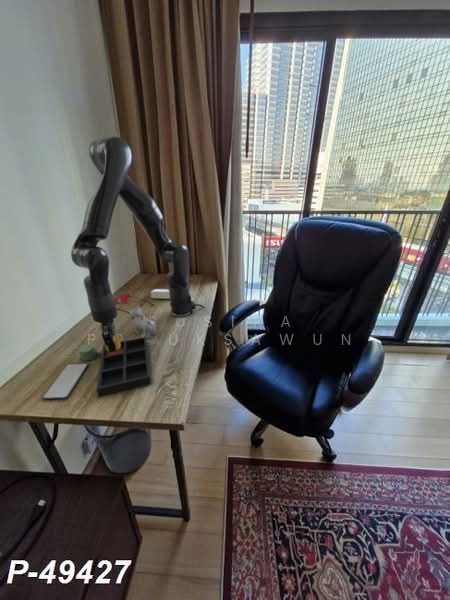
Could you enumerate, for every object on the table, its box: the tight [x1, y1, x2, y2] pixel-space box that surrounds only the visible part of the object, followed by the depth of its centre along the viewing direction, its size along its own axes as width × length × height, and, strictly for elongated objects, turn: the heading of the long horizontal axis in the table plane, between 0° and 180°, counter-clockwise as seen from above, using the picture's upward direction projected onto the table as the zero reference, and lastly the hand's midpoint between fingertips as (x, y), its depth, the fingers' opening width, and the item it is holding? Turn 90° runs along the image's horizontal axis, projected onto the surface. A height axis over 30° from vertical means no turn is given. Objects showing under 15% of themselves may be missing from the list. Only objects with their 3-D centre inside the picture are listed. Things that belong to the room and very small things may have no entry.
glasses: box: [114, 292, 154, 319], centre depth 123 cm, size 14×16×5 cm
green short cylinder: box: [78, 343, 97, 362], centre depth 91 cm, size 5×5×4 cm
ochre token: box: [103, 333, 121, 351], centre depth 90 cm, size 5×5×4 cm
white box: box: [150, 288, 170, 300], centre depth 134 cm, size 13×7×8 cm, turn 85°
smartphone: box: [42, 362, 89, 400], centre depth 81 cm, size 7×1×15 cm
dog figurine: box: [129, 306, 157, 340], centre depth 103 cm, size 5×13×11 cm, turn 52°
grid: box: [96, 336, 152, 397], centre depth 87 cm, size 15×23×3 cm
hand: (113, 346), depth 91 cm, fingers closed on ochre token, 5 cm apart
